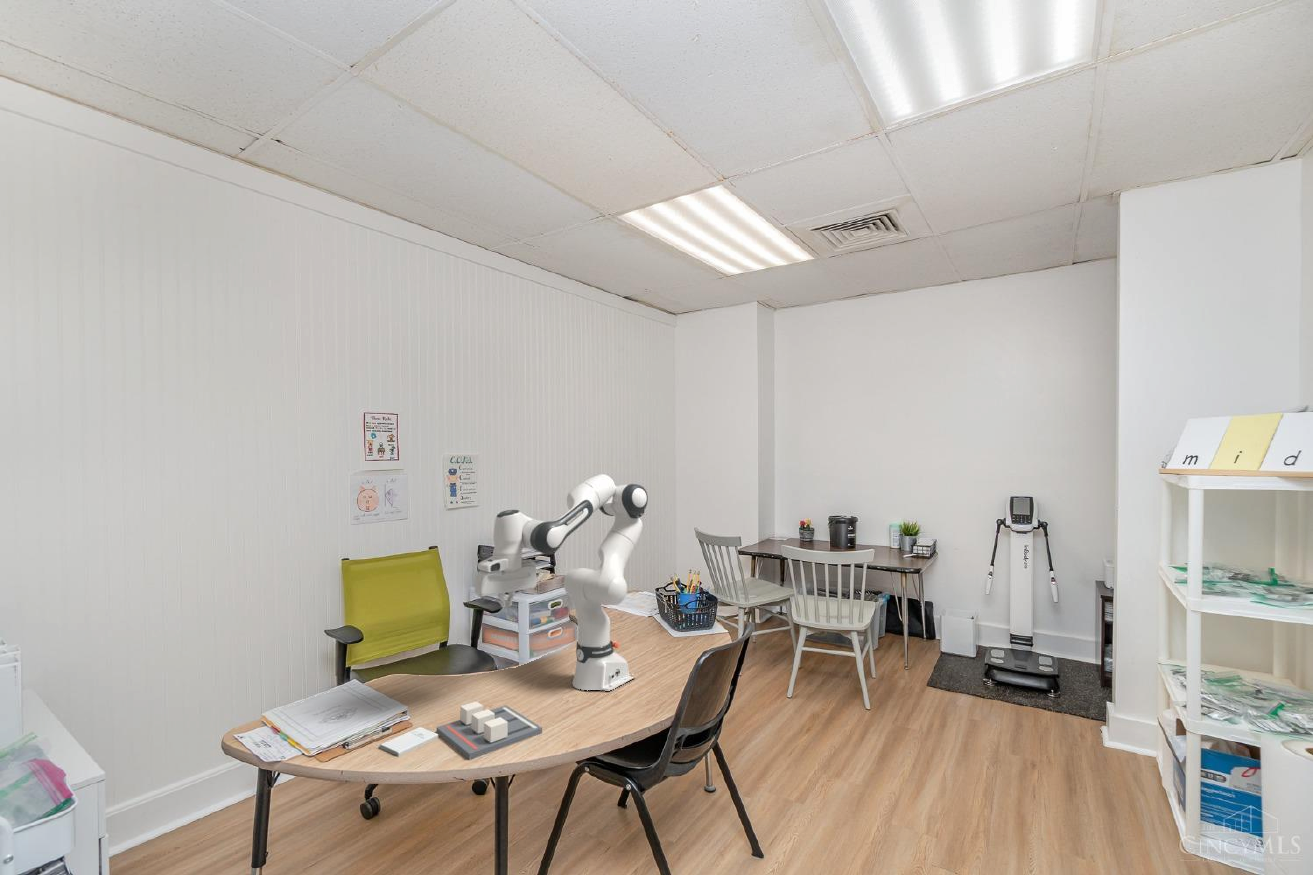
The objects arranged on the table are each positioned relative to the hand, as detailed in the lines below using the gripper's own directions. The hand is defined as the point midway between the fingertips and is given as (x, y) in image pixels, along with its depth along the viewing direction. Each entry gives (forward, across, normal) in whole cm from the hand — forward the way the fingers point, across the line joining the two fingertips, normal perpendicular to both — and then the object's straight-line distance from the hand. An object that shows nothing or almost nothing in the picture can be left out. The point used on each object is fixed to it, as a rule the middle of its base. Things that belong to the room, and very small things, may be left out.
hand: (506, 606), depth 188 cm
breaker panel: (+31, +12, +13) cm, 36 cm away
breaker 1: (+29, +14, +6) cm, 33 cm away
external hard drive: (+32, +31, +4) cm, 44 cm away
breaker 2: (+29, +14, +20) cm, 38 cm away
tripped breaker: (+29, +14, +13) cm, 35 cm away
